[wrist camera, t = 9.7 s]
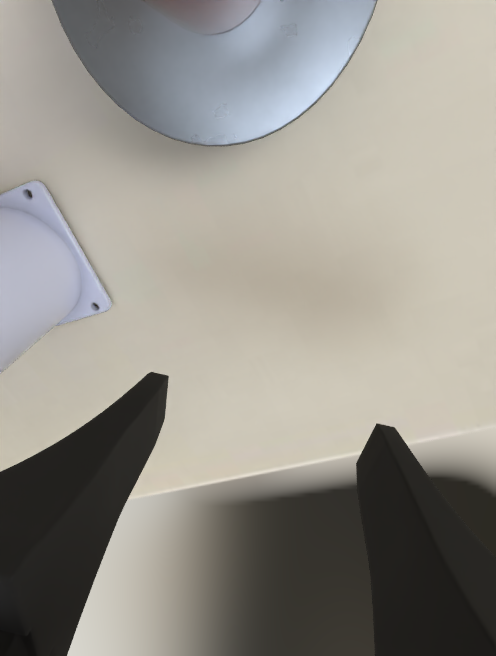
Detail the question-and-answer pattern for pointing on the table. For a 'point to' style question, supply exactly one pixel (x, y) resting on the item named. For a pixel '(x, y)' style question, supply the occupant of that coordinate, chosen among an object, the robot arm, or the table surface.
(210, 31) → the spice jar
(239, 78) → the steel stand
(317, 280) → the table surface
